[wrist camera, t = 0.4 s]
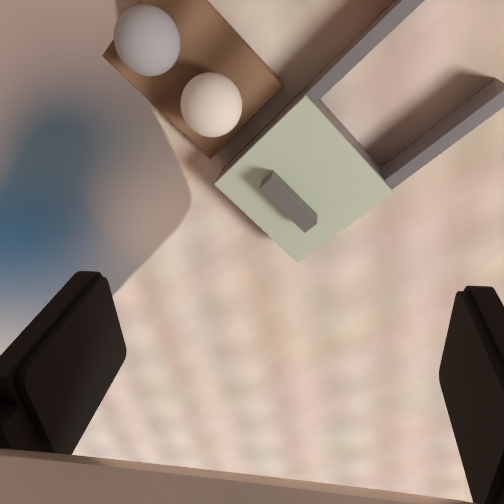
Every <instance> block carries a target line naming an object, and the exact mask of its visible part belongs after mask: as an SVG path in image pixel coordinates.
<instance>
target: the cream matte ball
mask: <svg viewBox="0 0 504 504" xmlns="http://www.w3.org/2000/svg"><path fill="white" fill-rule="evenodd" d="M181 112H182V115H183V118H184V120H185V122H186V123H187V124H188V126H189V127H190V128H191V129H192V130H193V131H195V132H196V133H198V134H200V135H203V136H206V137H219V136H222V135H224V134H226V133H228V132H230V131H231V130H232V129H233V128H234V127H235V126H236V124H237V123H238V121H239V119H240V116H241V113H242V99H241V95H240V92H239V90H238V88H237V87H236V85H235V84H234V83H233V82H232V81H231V80H230V79H229V78H227V77H226V76H224V75H221V74H218V73H212V72H209V73H202V74H200V75H197V76H196V77H194V78H193V79H191V80H190V81H189V82H188V84H187V85H186V86H185V88H184V90H183V93H182V96H181Z"/></svg>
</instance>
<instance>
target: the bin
mask: <svg viewBox="0 0 504 504" xmlns="http://www.w3.org/2000/svg"><path fill="white" fill-rule="evenodd" d="M423 1H424V0H394V1H393V2H392V3H391V4H390V5H389V6H388V7H387V8H386V9H385V10H384V11H383V12H382V13H381V14H380V15H379V16H378V17H377V18H376V19H375V20H374V21H373V22H372V23H371V24H370V25H369V26H368V27H367V28H366V29H365V30H364V31H363V32H362V33H361V34H360V35H359V36H358V37H357V38H356V39H354V40H353V41H352V42H351V43H350V44H349V45H348V46H347V47H346V48H345V49H344V50H343V51H342V52H341V53H340V54H339V55H338V56H337V57H336V58H335V59H334V60H333V61H332V62H331V63H330V64H329V65H328V66H327V67H326V68H325V69H324V70H323V71H322V72H321V73H320V74H319V75H318V76H317V77H316V78H315V79H314V80H313V81H312V82H311V83H310V84H309V85H308V86H307V87H306V88H305V89H304V90H303V91H302V92H301V93H299V94H298V95H297V96H296V97H295V98H294V99H293V100H292V101H291V102H290V103H289V104H288V105H287V106H286V107H285V108H284V109H283V110H282V111H281V112H280V113H279V114H278V115H277V116H276V117H275V118H274V119H273V120H272V121H271V122H270V123H269V124H268V125H267V126H266V127H265V128H264V129H263V130H262V131H261V132H260V133H259V134H258V135H257V136H256V137H255V138H254V139H253V140H252V141H251V142H250V143H249V144H248V145H247V146H246V147H244V148H243V149H242V150H241V151H240V152H239V153H238V154H237V155H236V156H235V157H234V158H233V159H232V160H231V161H230V162H229V163H228V164H227V165H226V166H225V167H224V168H223V169H222V171H221V173H220V175H219V177H218V178H217V180H218V179H219V178H220V177H221V176H222V175H223V174H224V173H225V172H226V171H227V170H228V169H229V168H230V167H231V166H232V165H234V164H235V163H236V162H237V161H238V160H239V159H240V158H241V157H242V156H243V155H244V154H245V153H246V152H247V151H248V150H249V149H250V148H251V147H252V146H253V145H254V144H255V143H256V142H257V141H258V140H259V139H260V138H261V137H262V136H263V135H264V134H265V133H266V132H267V131H269V130H270V129H271V128H272V127H273V126H274V125H275V124H276V123H277V122H278V121H279V120H280V119H281V118H282V117H283V116H284V115H285V114H286V113H287V112H288V111H289V110H290V109H291V108H292V107H293V106H294V105H295V104H296V103H297V102H298V101H299V100H300V99H301V98H302V97H303V96H305V95H307V96H308V97H309V98H310V99H311V101H312V102H313V103H314V104H315V105H316V106H317V107H318V108H319V109H320V110H321V112H322V113H323V114H324V115H325V116H326V117H327V118H328V119H329V120H330V121H331V123H332V124H333V125H334V126H335V127H336V128H337V129H338V130H339V131H340V133H341V134H342V135H343V136H344V137H345V138H346V139H347V140H348V141H349V142H350V144H351V145H352V146H353V147H354V148H355V149H356V150H357V151H358V152H359V154H360V155H361V156H362V157H363V158H364V159H365V160H366V161H367V162H368V163H369V165H370V166H371V167H372V168H373V169H374V170H375V171H376V172H377V173H378V174H379V176H380V177H381V178H382V179H383V180H384V181H385V182H386V183H387V184H388V186H389V187H390V188H391V189H393V188H395V187H396V186H397V185H399V184H400V183H401V182H403V181H404V180H405V179H407V178H408V177H409V176H411V175H412V174H413V173H415V172H416V171H418V170H419V169H420V168H422V167H423V166H424V165H426V164H427V163H428V162H430V161H431V160H432V159H434V158H435V157H437V156H438V155H439V154H441V153H442V152H443V151H445V150H446V149H447V148H449V147H450V146H451V145H453V144H454V143H455V142H457V141H458V140H460V139H461V138H462V137H464V136H465V135H466V134H468V133H469V132H470V131H472V130H473V129H474V128H476V127H477V126H478V125H480V124H481V123H483V122H484V121H485V120H487V119H488V118H489V117H491V116H492V115H493V114H495V113H496V112H497V111H499V110H500V109H501V108H503V107H504V83H503V82H501V81H500V80H498V79H496V78H495V79H494V80H492V81H491V82H490V83H489V84H487V85H486V86H485V87H483V88H482V89H481V90H480V91H478V92H477V93H476V94H474V95H473V96H472V97H471V98H469V99H468V100H467V101H465V102H464V103H463V104H462V105H460V106H459V107H458V108H456V109H455V110H454V111H453V112H451V113H450V114H449V115H448V116H446V117H445V118H444V119H442V120H441V121H440V122H439V123H437V124H436V125H435V126H433V127H432V128H431V129H430V130H428V131H427V132H426V133H424V134H423V135H422V136H421V137H419V138H418V139H417V140H415V141H414V142H413V143H412V144H410V145H409V146H408V147H406V148H405V149H404V150H403V151H401V152H400V153H399V154H397V155H396V156H395V157H394V158H392V159H391V160H390V161H388V162H387V163H386V164H385V165H383V166H382V167H380V166H379V165H378V163H377V162H376V161H375V160H374V159H373V158H372V157H371V156H370V155H369V153H368V152H367V151H366V150H365V149H364V148H363V147H362V146H361V145H360V143H359V142H358V141H357V140H356V139H355V138H354V137H353V136H352V134H351V133H350V132H349V131H348V130H347V129H346V128H345V127H344V126H343V124H342V123H341V122H340V121H339V120H338V119H337V118H336V117H335V116H334V114H333V113H332V112H331V111H330V110H329V109H328V108H327V107H326V106H325V104H324V103H323V102H322V101H321V100H320V98H322V97H323V96H324V95H325V94H326V93H327V92H328V91H329V90H330V89H331V88H332V87H333V86H334V85H335V84H336V83H337V82H338V81H340V80H341V79H342V78H343V77H344V76H345V75H346V74H347V73H348V72H349V71H350V70H351V69H352V68H353V67H354V66H355V65H356V64H358V63H359V62H360V61H361V60H362V59H363V58H364V57H365V56H366V55H367V54H368V53H369V52H370V51H371V50H372V49H373V48H374V47H375V46H377V45H378V44H379V43H380V42H381V41H382V40H383V39H384V38H385V37H386V36H387V35H388V34H389V33H390V32H391V31H392V30H393V29H395V28H396V27H397V26H398V25H399V24H400V23H401V22H402V21H403V20H404V19H405V18H406V17H407V16H408V15H409V14H410V13H411V12H413V11H414V10H415V9H416V8H417V7H418V6H419V5H420V4H421V3H422V2H423ZM217 180H216V181H217Z"/></svg>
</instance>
